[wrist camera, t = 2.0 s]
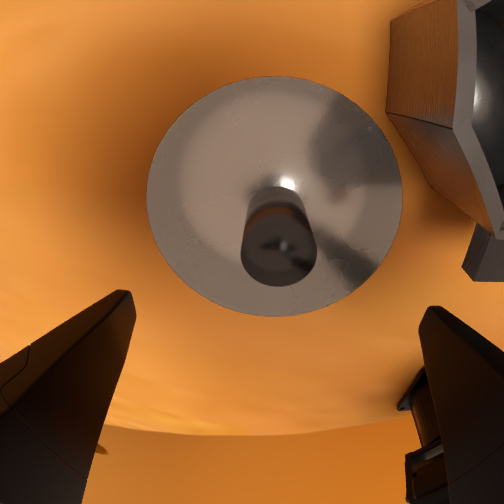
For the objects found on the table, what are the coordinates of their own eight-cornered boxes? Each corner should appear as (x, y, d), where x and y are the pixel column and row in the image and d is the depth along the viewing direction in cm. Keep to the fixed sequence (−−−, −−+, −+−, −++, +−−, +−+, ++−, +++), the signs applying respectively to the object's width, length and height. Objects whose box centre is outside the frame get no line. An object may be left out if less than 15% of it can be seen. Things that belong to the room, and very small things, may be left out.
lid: (365, 307, 19) (386, 367, 14) (165, 295, 19) (140, 355, 14) (410, 99, 12) (468, 108, 8) (150, 79, 12) (97, 77, 8)
